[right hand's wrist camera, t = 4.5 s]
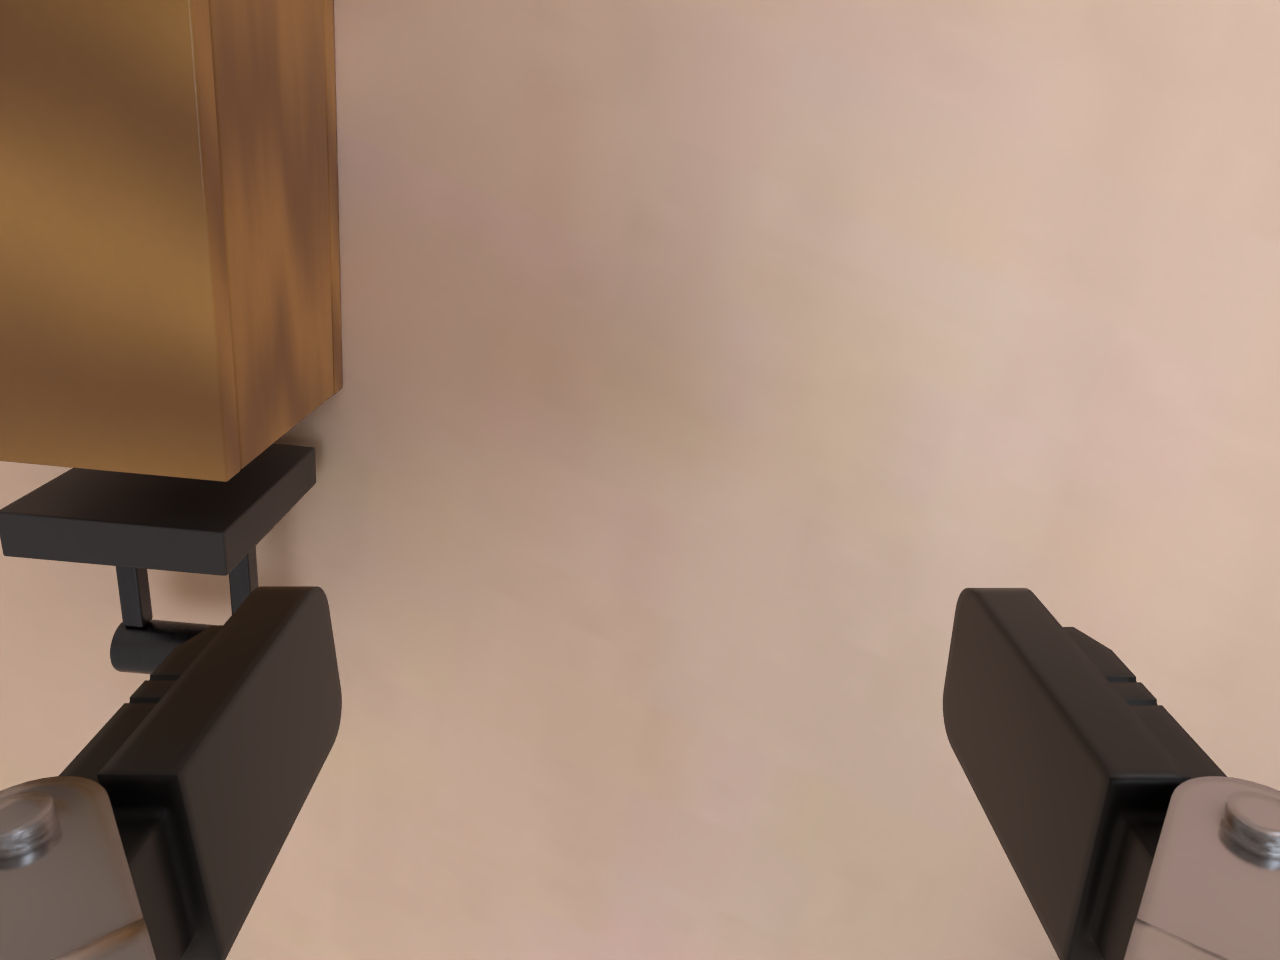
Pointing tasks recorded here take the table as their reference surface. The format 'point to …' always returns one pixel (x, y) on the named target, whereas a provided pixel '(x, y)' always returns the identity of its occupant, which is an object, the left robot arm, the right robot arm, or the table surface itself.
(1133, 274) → the table surface
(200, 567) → the drawer
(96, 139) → the cabinet
